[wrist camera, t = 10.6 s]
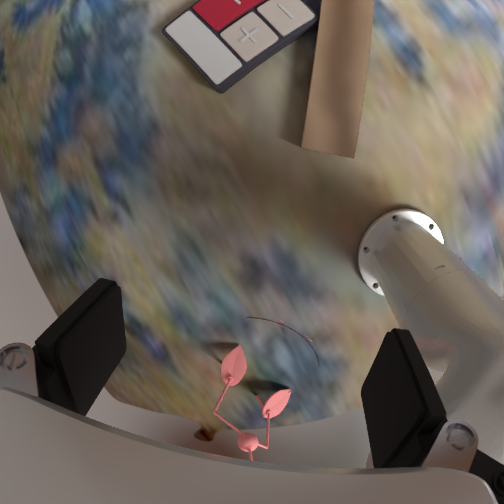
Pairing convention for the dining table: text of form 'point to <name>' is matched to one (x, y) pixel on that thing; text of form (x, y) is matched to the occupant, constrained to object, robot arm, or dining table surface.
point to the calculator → (237, 35)
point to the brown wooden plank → (338, 77)
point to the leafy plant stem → (232, 375)
